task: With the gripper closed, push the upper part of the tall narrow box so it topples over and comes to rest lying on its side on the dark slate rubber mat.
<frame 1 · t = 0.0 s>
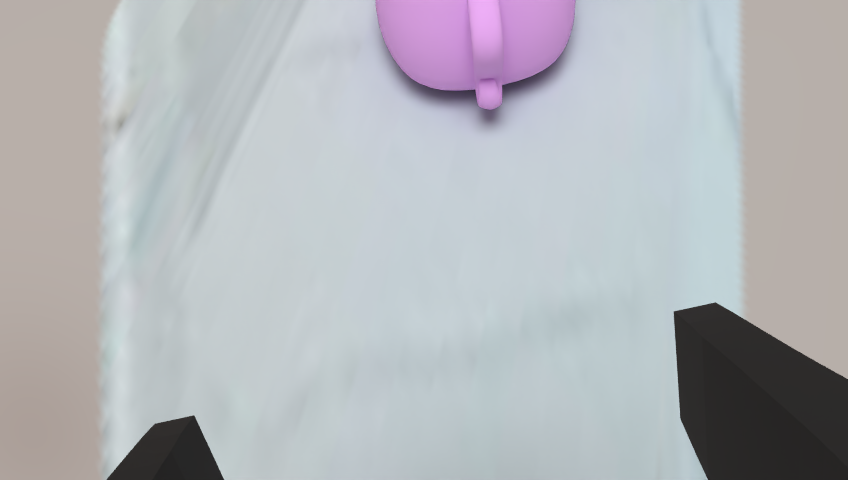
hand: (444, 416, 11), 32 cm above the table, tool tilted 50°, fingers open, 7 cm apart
teapot: (474, 13, 53), on the table
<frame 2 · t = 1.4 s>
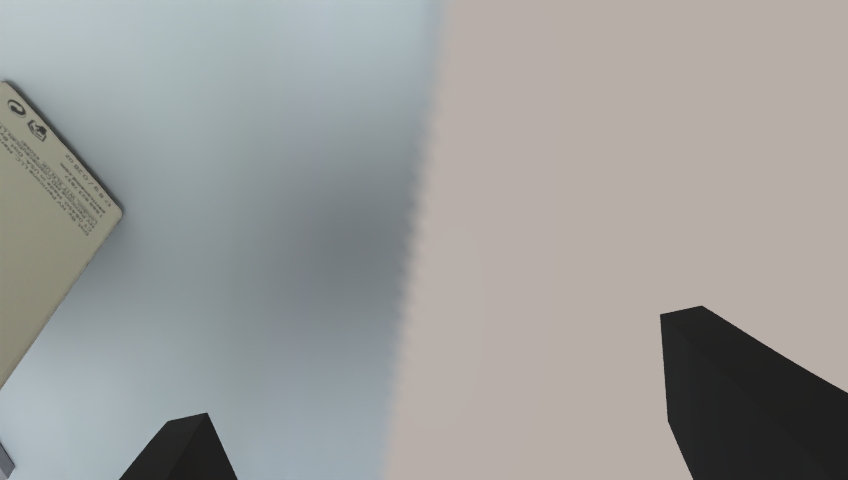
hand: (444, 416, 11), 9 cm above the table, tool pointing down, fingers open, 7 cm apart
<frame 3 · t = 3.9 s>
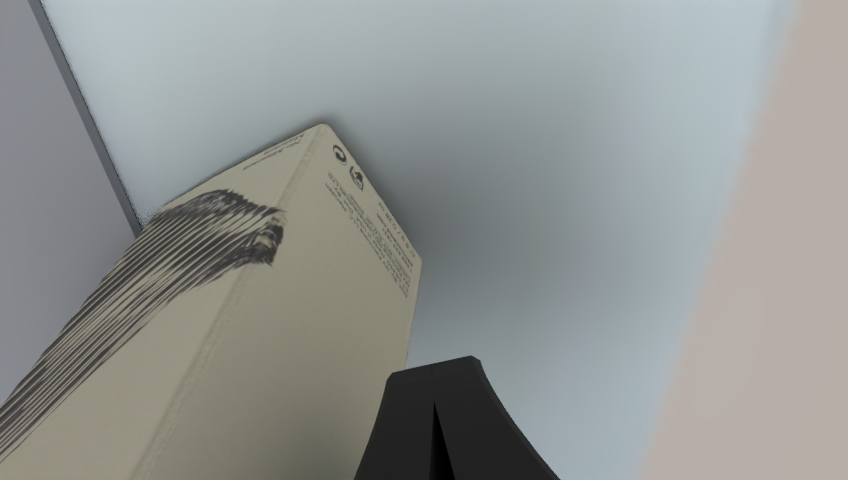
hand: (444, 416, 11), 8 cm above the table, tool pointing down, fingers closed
box: (291, 232, 18), on the table
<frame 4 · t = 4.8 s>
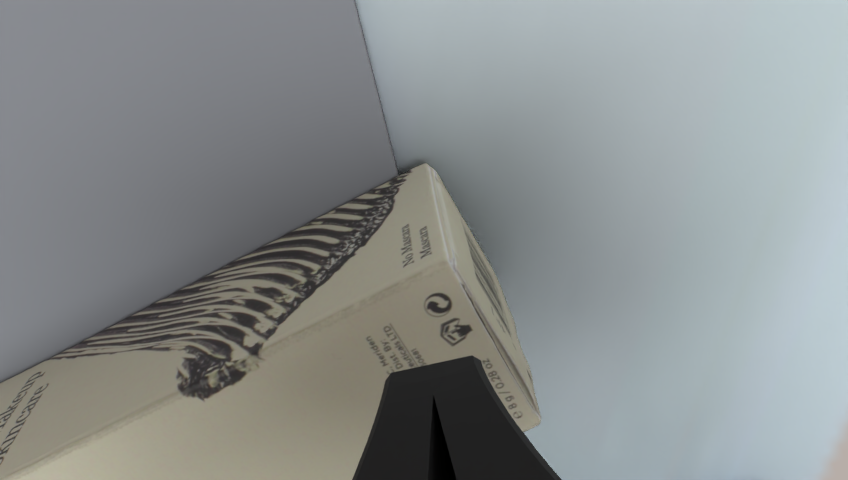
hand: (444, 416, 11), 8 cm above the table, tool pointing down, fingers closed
box: (496, 271, 16), point 3 cm above the table, touching mat
mat: (150, 261, 18), on the table
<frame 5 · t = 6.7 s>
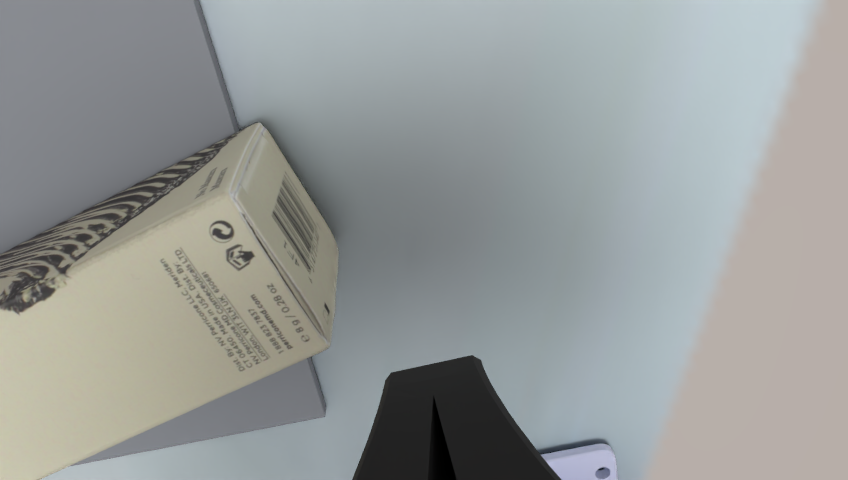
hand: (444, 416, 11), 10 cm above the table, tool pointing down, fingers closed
box: (308, 217, 17), point 3 cm above the table, touching mat
mat: (15, 209, 20), on the table
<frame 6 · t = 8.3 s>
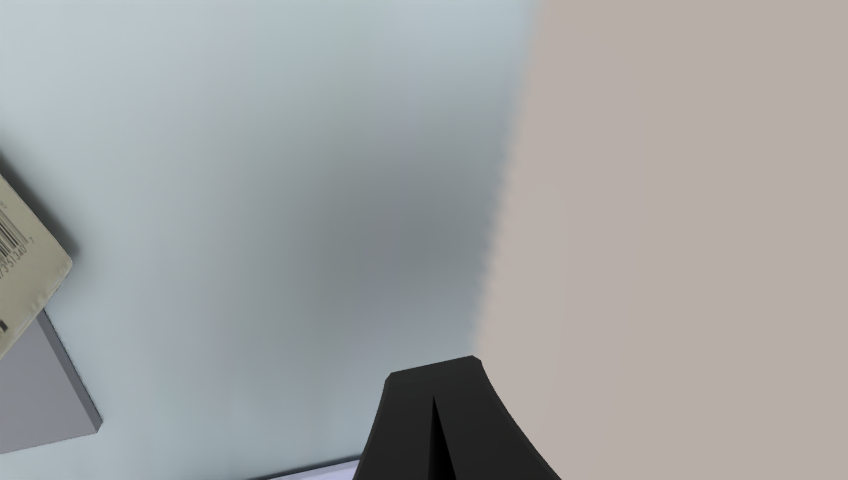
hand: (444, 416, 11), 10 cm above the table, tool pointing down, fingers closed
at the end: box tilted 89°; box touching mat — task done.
